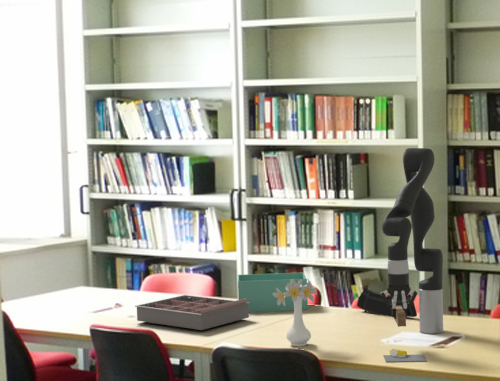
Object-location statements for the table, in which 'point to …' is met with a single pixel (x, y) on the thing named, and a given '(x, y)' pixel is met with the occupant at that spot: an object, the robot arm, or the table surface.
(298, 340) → the flower vase
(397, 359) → the felt mat
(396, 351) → the watch
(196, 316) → the organizer tray
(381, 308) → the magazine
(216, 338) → the table surface
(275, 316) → the table surface
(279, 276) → the box
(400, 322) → the walnut slat
